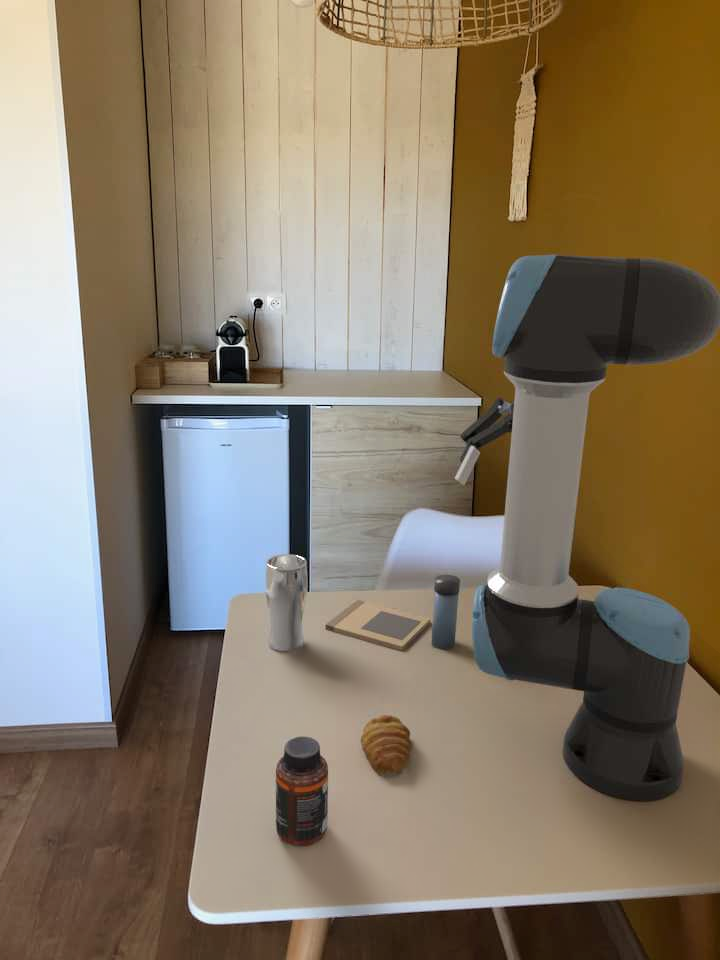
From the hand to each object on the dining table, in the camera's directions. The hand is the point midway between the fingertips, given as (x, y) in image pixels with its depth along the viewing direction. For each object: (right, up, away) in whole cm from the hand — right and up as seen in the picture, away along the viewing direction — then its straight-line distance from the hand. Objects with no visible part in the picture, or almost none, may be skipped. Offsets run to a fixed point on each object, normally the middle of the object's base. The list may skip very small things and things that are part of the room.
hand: (492, 494), depth 130 cm
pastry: (-19, -35, -26) cm, 47 cm away
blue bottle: (-8, -26, +3) cm, 27 cm away
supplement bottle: (-29, -38, -41) cm, 63 cm away
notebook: (-19, -24, +9) cm, 32 cm away
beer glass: (-35, -26, +1) cm, 43 cm away
